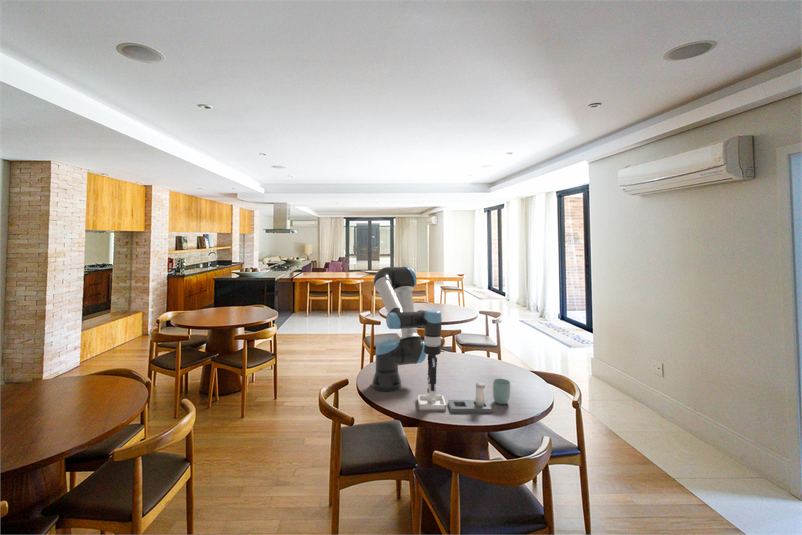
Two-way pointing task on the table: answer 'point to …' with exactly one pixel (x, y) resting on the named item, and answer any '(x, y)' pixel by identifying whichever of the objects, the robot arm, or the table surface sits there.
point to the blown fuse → (429, 400)
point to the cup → (501, 391)
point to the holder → (469, 406)
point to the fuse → (480, 394)
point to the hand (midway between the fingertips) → (431, 394)
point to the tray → (425, 405)
